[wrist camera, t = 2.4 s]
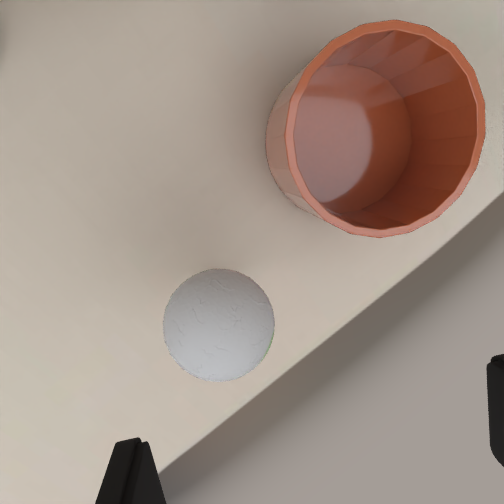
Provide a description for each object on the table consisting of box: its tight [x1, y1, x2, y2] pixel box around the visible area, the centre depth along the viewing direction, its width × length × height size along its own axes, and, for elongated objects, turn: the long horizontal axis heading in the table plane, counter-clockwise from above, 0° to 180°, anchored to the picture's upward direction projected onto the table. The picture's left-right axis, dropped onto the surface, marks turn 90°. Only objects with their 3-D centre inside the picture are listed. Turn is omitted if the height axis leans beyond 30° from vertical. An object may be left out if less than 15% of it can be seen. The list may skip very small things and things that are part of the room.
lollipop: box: [163, 269, 275, 382], centre depth 29 cm, size 7×7×15 cm
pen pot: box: [265, 20, 485, 238], centre depth 30 cm, size 14×14×10 cm
